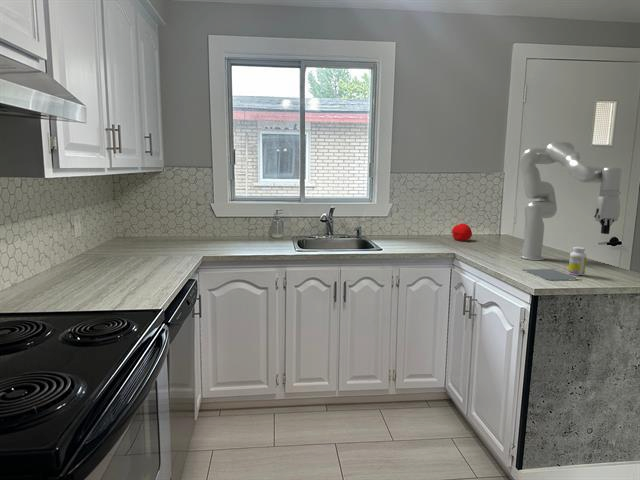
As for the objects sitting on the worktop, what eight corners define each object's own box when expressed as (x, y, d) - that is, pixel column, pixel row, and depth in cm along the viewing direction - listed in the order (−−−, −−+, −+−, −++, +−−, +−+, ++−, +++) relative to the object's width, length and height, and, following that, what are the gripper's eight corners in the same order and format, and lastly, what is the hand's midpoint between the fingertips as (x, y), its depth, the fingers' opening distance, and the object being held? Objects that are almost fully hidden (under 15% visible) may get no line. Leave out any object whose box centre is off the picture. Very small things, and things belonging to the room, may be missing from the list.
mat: (522, 270, 213) (522, 269, 213) (552, 269, 216) (552, 268, 216) (549, 280, 194) (549, 279, 194) (581, 280, 196) (581, 279, 196)
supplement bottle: (578, 273, 210) (581, 246, 208) (587, 276, 203) (590, 249, 201) (564, 272, 210) (567, 246, 208) (573, 276, 203) (576, 248, 201)
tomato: (470, 246, 295) (456, 243, 307) (479, 230, 296) (465, 228, 308) (457, 236, 290) (444, 234, 302) (467, 220, 291) (453, 218, 303)
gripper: (617, 193, 207) (612, 232, 210) (588, 193, 205) (584, 232, 207) (630, 194, 199) (625, 234, 202) (600, 194, 197) (596, 234, 200)
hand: (604, 233), depth 205 cm, fingers closed
